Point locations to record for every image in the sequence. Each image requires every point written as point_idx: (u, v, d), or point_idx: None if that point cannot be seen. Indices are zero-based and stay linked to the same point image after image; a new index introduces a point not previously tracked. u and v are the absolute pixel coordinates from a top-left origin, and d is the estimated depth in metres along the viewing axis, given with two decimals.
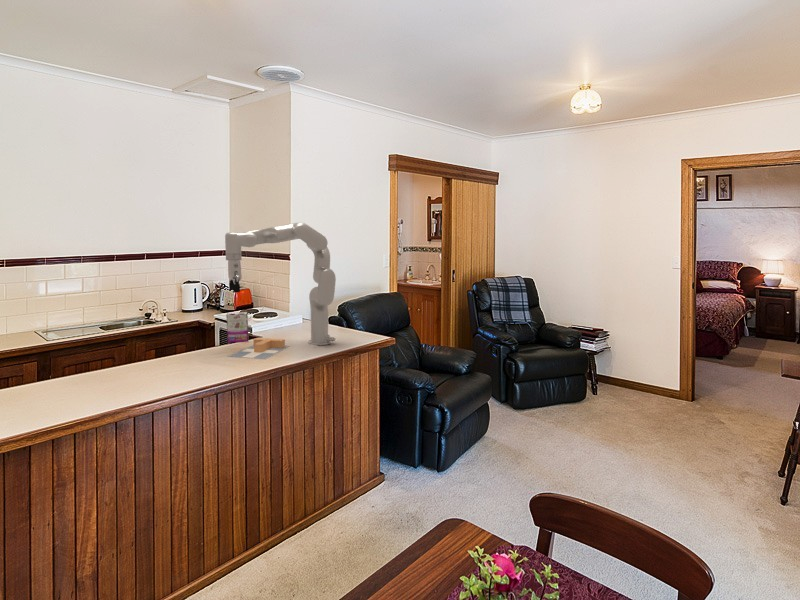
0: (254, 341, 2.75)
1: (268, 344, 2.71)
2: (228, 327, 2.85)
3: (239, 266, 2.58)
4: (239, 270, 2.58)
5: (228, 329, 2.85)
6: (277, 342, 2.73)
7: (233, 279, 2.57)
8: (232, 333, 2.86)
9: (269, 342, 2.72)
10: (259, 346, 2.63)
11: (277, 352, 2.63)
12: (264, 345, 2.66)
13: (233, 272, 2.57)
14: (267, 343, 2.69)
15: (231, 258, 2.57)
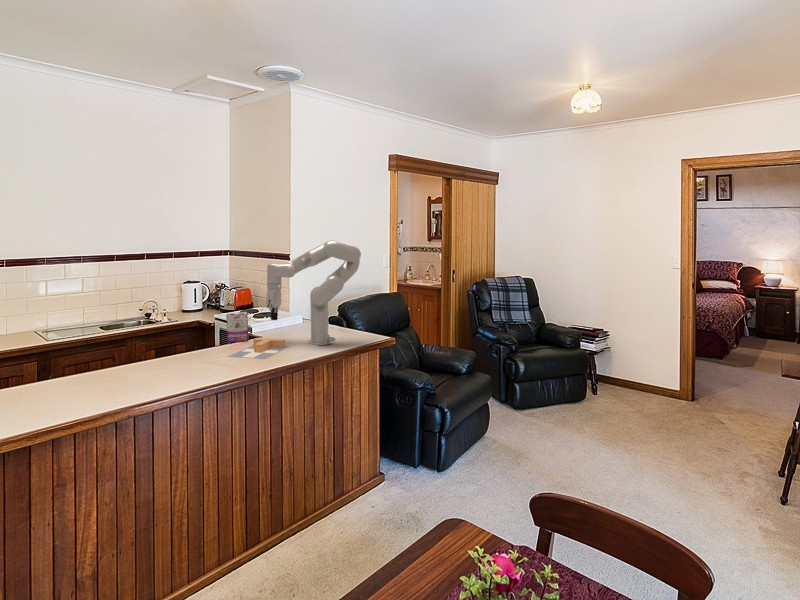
0: (254, 341, 2.75)
1: (268, 344, 2.71)
2: (228, 327, 2.85)
3: None
4: None
5: (228, 329, 2.85)
6: (277, 342, 2.73)
7: (278, 307, 2.83)
8: (232, 333, 2.86)
9: (269, 342, 2.72)
10: (259, 346, 2.63)
11: (277, 352, 2.63)
12: (264, 345, 2.66)
13: None
14: (267, 343, 2.69)
15: None
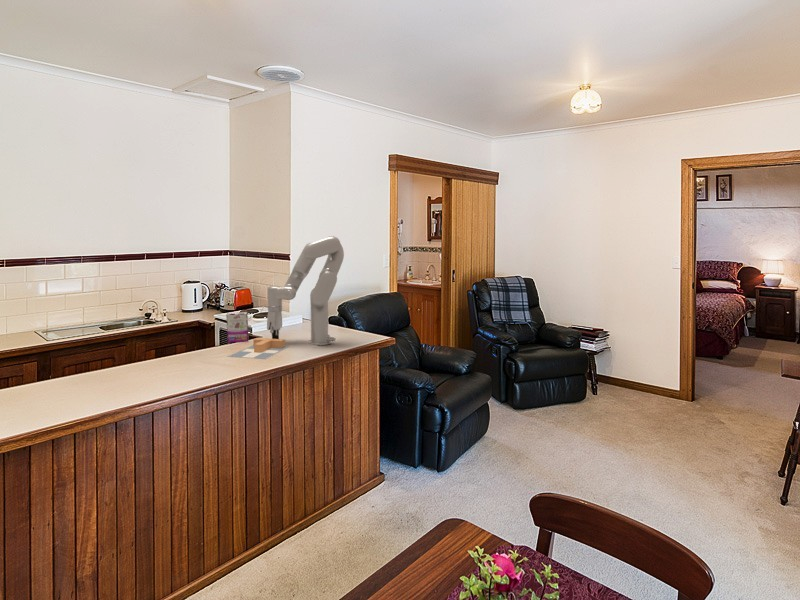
0: (254, 341, 2.75)
1: (268, 344, 2.71)
2: (228, 327, 2.85)
3: None
4: None
5: (228, 329, 2.85)
6: (277, 342, 2.73)
7: (279, 329, 2.84)
8: (232, 333, 2.86)
9: (269, 342, 2.72)
10: (259, 346, 2.63)
11: (277, 352, 2.63)
12: (264, 345, 2.66)
13: None
14: (267, 343, 2.69)
15: None
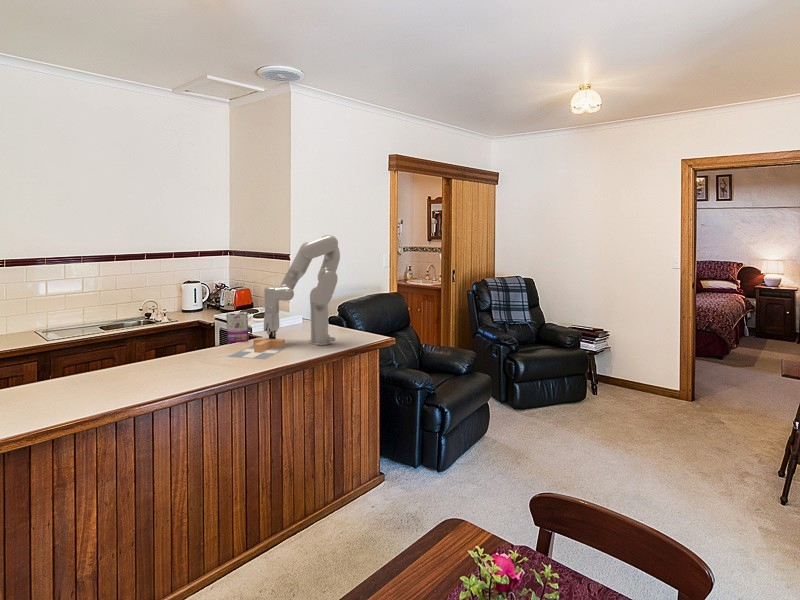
0: (254, 341, 2.75)
1: (268, 344, 2.71)
2: (228, 327, 2.85)
3: None
4: None
5: (228, 329, 2.85)
6: (277, 342, 2.73)
7: (276, 331, 2.81)
8: (232, 333, 2.86)
9: (269, 342, 2.72)
10: (259, 346, 2.63)
11: (277, 352, 2.63)
12: (264, 345, 2.66)
13: None
14: (267, 343, 2.69)
15: None
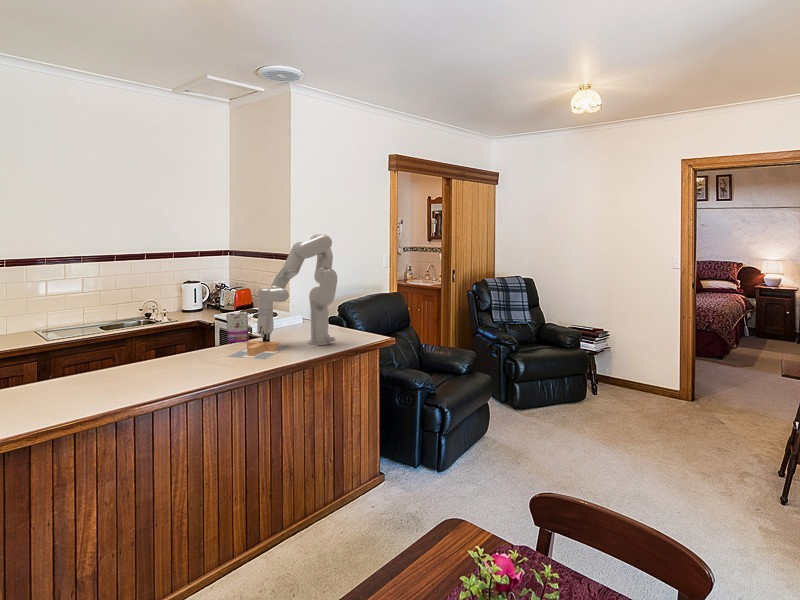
0: (248, 344, 2.68)
1: (262, 347, 2.63)
2: (228, 327, 2.85)
3: None
4: None
5: (228, 329, 2.85)
6: (271, 345, 2.65)
7: (270, 333, 2.74)
8: (232, 333, 2.86)
9: (263, 345, 2.65)
10: (252, 349, 2.56)
11: (277, 352, 2.63)
12: (258, 348, 2.59)
13: None
14: (261, 346, 2.62)
15: None
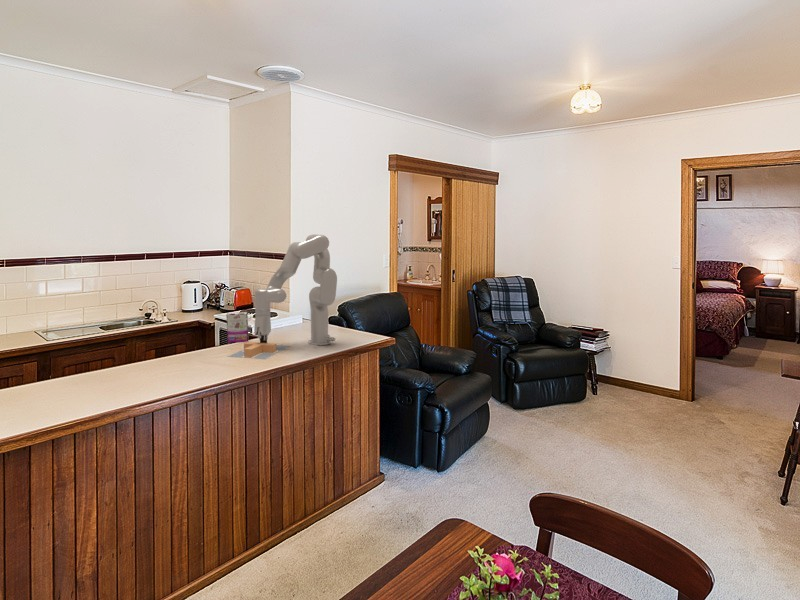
0: (245, 345, 2.65)
1: (259, 348, 2.60)
2: (228, 327, 2.85)
3: None
4: None
5: (228, 329, 2.85)
6: (268, 346, 2.62)
7: (267, 335, 2.71)
8: (232, 333, 2.86)
9: (260, 346, 2.61)
10: (249, 351, 2.53)
11: (277, 352, 2.63)
12: (255, 350, 2.56)
13: None
14: (258, 347, 2.59)
15: None
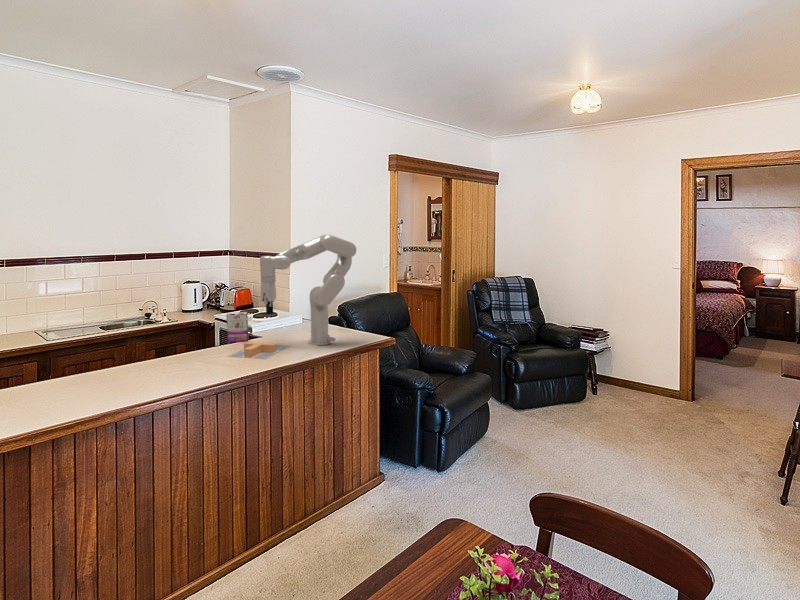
0: (245, 345, 2.65)
1: (259, 348, 2.60)
2: (228, 327, 2.85)
3: None
4: None
5: (228, 329, 2.85)
6: (268, 346, 2.62)
7: (273, 301, 2.76)
8: (232, 333, 2.86)
9: (260, 346, 2.61)
10: (249, 351, 2.53)
11: (277, 352, 2.63)
12: (255, 350, 2.56)
13: None
14: (258, 347, 2.59)
15: None
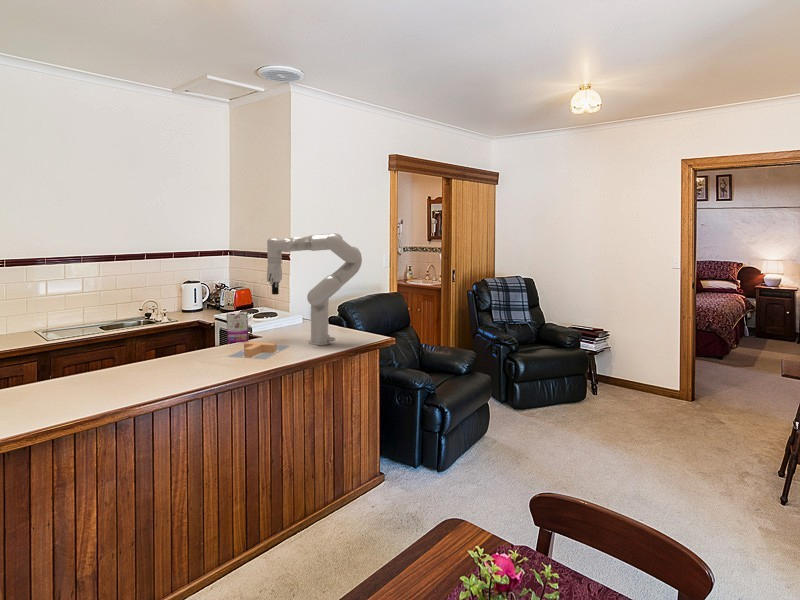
0: (245, 345, 2.65)
1: (259, 348, 2.60)
2: (228, 327, 2.85)
3: None
4: None
5: (228, 329, 2.85)
6: (268, 346, 2.62)
7: (278, 282, 2.86)
8: (232, 333, 2.86)
9: (260, 346, 2.61)
10: (249, 351, 2.53)
11: (277, 352, 2.63)
12: (255, 350, 2.56)
13: None
14: (258, 347, 2.59)
15: None
